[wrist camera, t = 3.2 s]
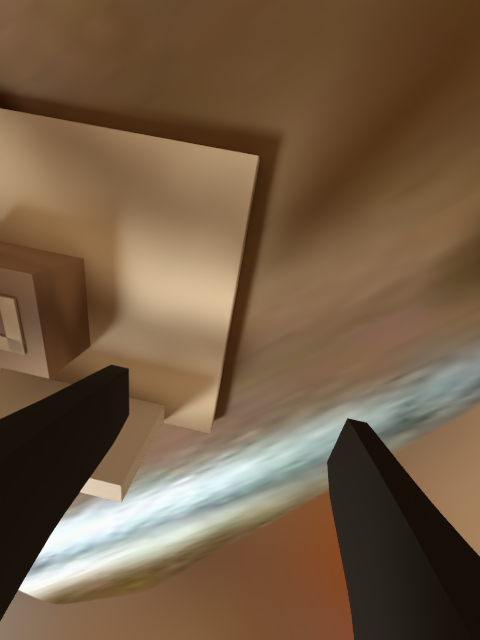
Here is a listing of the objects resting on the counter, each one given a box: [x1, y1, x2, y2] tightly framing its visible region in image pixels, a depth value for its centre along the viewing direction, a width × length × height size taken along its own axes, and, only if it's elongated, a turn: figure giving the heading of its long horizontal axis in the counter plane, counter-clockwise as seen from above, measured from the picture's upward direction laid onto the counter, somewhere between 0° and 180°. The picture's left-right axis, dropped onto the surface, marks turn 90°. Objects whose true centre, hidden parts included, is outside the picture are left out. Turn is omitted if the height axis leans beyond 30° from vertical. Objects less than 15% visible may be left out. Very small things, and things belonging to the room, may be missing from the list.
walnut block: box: [0, 241, 90, 379], centre depth 13 cm, size 5×5×3 cm
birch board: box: [0, 108, 260, 433], centre depth 14 cm, size 15×21×1 cm
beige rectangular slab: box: [0, 368, 165, 502], centre depth 15 cm, size 1×16×5 cm, turn 80°
